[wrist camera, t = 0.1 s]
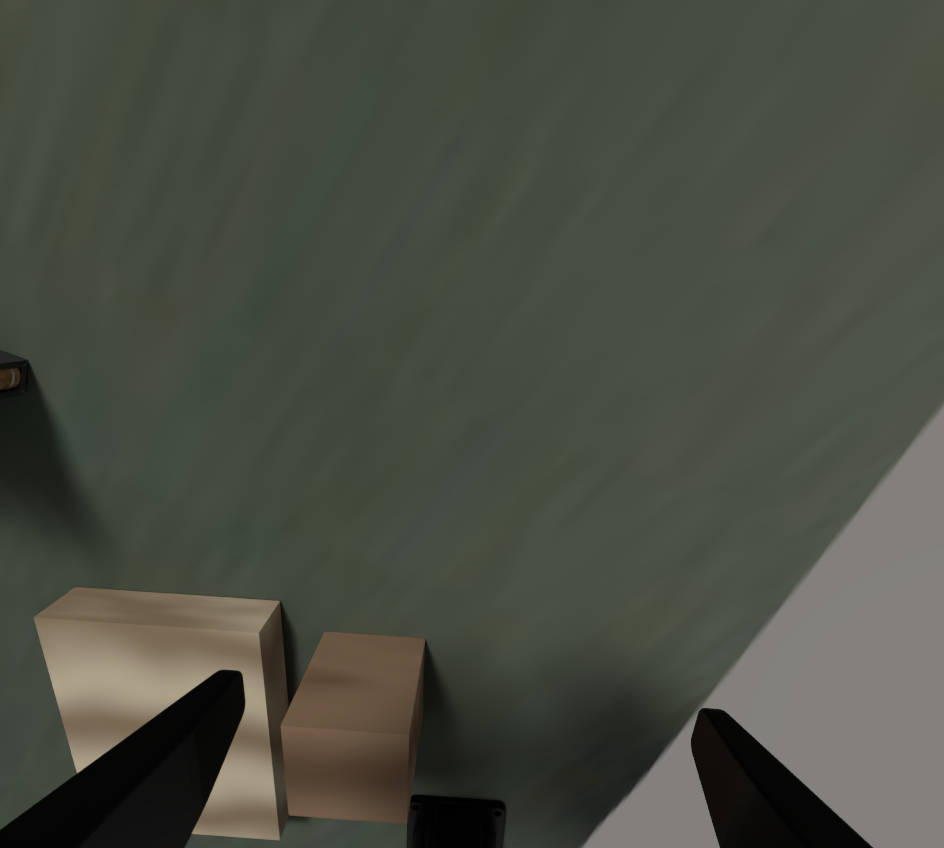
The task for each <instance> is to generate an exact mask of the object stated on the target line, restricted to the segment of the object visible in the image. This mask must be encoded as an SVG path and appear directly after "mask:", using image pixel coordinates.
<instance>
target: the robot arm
mask: <svg viewBox="0 0 944 848" xmlns="http://www.w3.org/2000/svg"><path fill="white" fill-rule="evenodd" d="M244 710H245V691H244V681H243V675H242V673H241V672H240V671H238V670H225V669H223V670H219V671H217V672H215V673H214V674H212V675H211V676H210V677H208V678H207V679H206V680H204V681H203V682H202V683H200V684H199V685H197V686H196V687H195V688H193V689H192V690H191V691H189V692H188V693H186V694H185V695H184V696H182V697H181V698H180V699H178V700H177V701H176V702H174V703H173V704H171V705H170V706H169V707H167V708H166V709H165V710H163V711H162V712H161V713H159V714H158V715H156V716H155V717H154V718H152V719H151V720H150V721H148V722H147V723H145V724H144V725H143V726H141V727H140V728H139V729H137V730H136V731H135V732H133V733H132V734H130V735H129V736H128V737H126V738H125V739H124V740H122V741H121V742H120V743H118V744H117V745H115V746H114V747H113V748H111V749H110V750H109V751H107V752H106V753H104V754H103V755H102V756H100V757H99V758H98V759H96V760H95V761H94V762H92V763H91V764H89V765H88V766H87V767H85V768H84V769H83V770H81V771H80V772H78V773H77V774H76V775H74V776H73V777H72V778H70V779H69V780H68V781H66V782H65V783H63V784H62V785H61V786H59V787H58V788H57V789H55V790H54V791H53V792H51V793H50V794H48V795H47V796H46V797H44V798H43V799H42V800H40V801H39V802H37V803H36V804H35V805H33V806H32V807H31V808H29V809H28V810H27V811H25V812H24V813H22V814H21V815H20V816H18V817H17V818H16V819H14V820H13V821H12V822H10V823H9V824H7V825H6V826H5V827H3V828H2V829H1V830H0V848H184V847H185V845H186V843H187V842H188V840H189V838H190V836H191V834H192V832H193V830H194V828H195V826H196V824H197V822H198V820H199V818H200V816H201V814H202V812H203V810H204V808H205V806H206V803H207V801H208V799H209V796H210V794H211V792H212V789H213V787H214V785H215V782H216V780H217V777H218V775H219V773H220V770H221V768H222V765H223V763H224V760H225V758H226V756H227V753H228V751H229V748H230V746H231V744H232V741H233V739H234V736H235V734H236V731H237V729H238V727H239V724H240V722H241V719H242V717H243V714H244ZM691 748H692V754H693V757H694V760H695V764H696V767H697V771H698V774H699V778H700V781H701V785H702V788H703V791H704V795H705V799H706V802H707V805H708V809H709V812H710V816H711V819H712V823H713V826H714V830H715V833H716V836H717V839H718V842H719V846H720V848H873V847H872V846H871V845H870V844H869V843H867V842H866V841H865V840H864V839H863V838H862V837H861V836H860V835H859V834H858V833H857V832H856V831H854V830H853V829H852V828H851V827H850V826H849V825H848V824H847V823H846V822H845V821H844V820H842V819H841V818H840V817H839V816H838V815H837V814H836V813H835V812H834V811H833V810H832V809H831V808H829V807H828V806H827V805H826V804H825V803H824V802H823V801H822V800H820V798H819V797H818V796H816V795H815V794H814V793H813V792H812V791H811V790H810V789H809V788H808V787H807V786H806V785H805V784H803V783H802V782H801V781H800V780H799V779H798V778H797V777H796V776H795V775H794V774H793V773H791V772H790V771H789V770H788V769H787V768H786V767H785V766H784V765H783V764H782V763H781V762H780V761H779V760H777V759H776V758H775V757H774V756H773V755H772V754H771V753H770V752H769V751H768V750H767V749H766V748H764V747H763V746H762V745H761V744H760V743H759V742H758V741H757V740H756V739H755V738H754V737H752V736H751V735H750V734H749V733H748V732H747V731H746V730H745V729H744V728H743V727H742V726H740V725H739V724H738V723H737V722H736V721H735V720H734V719H733V718H732V717H731V716H730V715H729V714H727V713H726V712H725V711H723V710H720V709H710V708H702V709H701V710H700V711H699V713H698V716H697V720H696V723H695V727H694V730H693V734H692V738H691ZM504 821H505V805H504V804H503V803H501V802H494V801H480V800H466V799H452V798H439V797H425V796H412V797H411V800H410V807H409V814H408V821H407V848H501V847H502V838H503V829H504Z"/></svg>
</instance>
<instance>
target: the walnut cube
mask: <svg viewBox="0 0 944 848" xmlns="http://www.w3.org/2000/svg"><path fill="white" fill-rule="evenodd" d="M424 664H425V638H411V637H396V636H382V635H367V634H353V633H338V632H324V634H323V636H322V638H321V640H320V642H319V644H318V647H317V649H316V651H315V653H314V655H313V657H312V659H311V662H310V664H309V666H308V668H307V670H306V672H305V674H304V677H303V679H302V681H301V683H300V685H299V687H298V689H297V691H296V694H295V696H294V698H293V700H292V702H291V704H290V706H289V709H288V711H287V713H286V715H285V717H284V719H283V721H282V724H281V737H282V748H283V759H284V770H285V780H286V791H287V802H288V813H289V815H290V816H304V817H318V818H332V819H346V820H359V821H373V822H387V823H401V824H407V821H408V814H409V807H410V800H411V793H412V787H413V780H414V773H415V766H416V759H417V752H418V745H419V739H420V732H421V725H422V718H423V694H424Z"/></svg>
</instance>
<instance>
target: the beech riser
mask: <svg viewBox="0 0 944 848" xmlns="http://www.w3.org/2000/svg"><path fill="white" fill-rule="evenodd" d="M34 621H35V624H36V628H37V631H38V635H39V638H40V642H41V646H42V649H43V653H44V656H45V660H46V663H47V667H48V671H49V674H50V678H51V681H52V685H53V689H54V692H55V696H56V699H57V703H58V706H59V710H60V714H61V717H62V721H63V724H64V728H65V731H66V735H67V739H68V742H69V746H70V749H71V753H72V756H73V760H74V764H75V767H76V771H77V773H78V772H80V771H81V770H83V769H84V768H85V767H87V766H88V765H89V764H91V763H92V762H94V761H95V760H96V759H98V758H99V757H100V756H102V755H103V754H104V753H106V752H107V751H109V750H110V749H111V748H113V747H114V746H115V745H117V744H118V743H120V742H121V741H122V740H124V739H125V738H126V737H128V736H129V735H130V734H132V733H133V732H135V731H136V730H137V729H139V728H140V727H141V726H143V725H144V724H145V723H147V722H148V721H150V720H151V719H152V718H154V717H155V716H156V715H158V714H159V713H161V712H162V711H163V710H165V709H166V708H167V707H169V706H170V705H171V704H173V703H174V702H176V701H177V700H178V699H180V698H181V697H182V696H184V695H185V694H186V693H188V692H189V691H191V690H192V689H193V688H195V687H196V686H197V685H199V684H200V683H202V682H203V681H204V680H206V679H207V678H208V677H210V676H211V675H212V674H214V673H215V672H217V671H219V670H223V669H225V670H238V671H240V672H241V673H242V675H243V681H244V691H245V710H244V714H243V717H242V719H241V722H240V724H239V727H238V729H237V731H236V734H235V736H234V739H233V741H232V744H231V746H230V748H229V751H228V753H227V756H226V758H225V760H224V763H223V765H222V768H221V770H220V773H219V775H218V777H217V780H216V782H215V785H214V787H213V789H212V792H211V794H210V796H209V799H208V801H207V803H206V806H205V808H204V810H203V812H202V814H201V816H200V818H199V820H198V822H197V824H196V826H195V828H194V830H193V832H192V834H203V835H216V836H230V837H243V838H257V839H270V840H280V839H281V836H282V833H283V831H284V828H285V825H286V823H287V820H288V817H289V813H288V802H287V791H286V780H285V770H284V759H283V748H282V737H281V724H282V721H283V719H284V717H285V715H286V713H287V711H288V709H289V705H288V693H287V681H286V669H285V657H284V644H283V632H282V620H281V608H280V601H272V600H257V599H243V598H228V597H213V596H199V595H184V594H169V593H154V592H140V591H125V590H110V589H96V588H81V587H75V588H73V589H72V590H71V591H69V592H68V593H67V594H65V595H64V596H62V597H61V598H60V599H58V600H57V601H56V602H54V603H53V604H51V605H50V606H49V607H47V608H46V609H45V610H43V611H42V612H40V613H39V614H38V615H36V616H35V617H34Z"/></svg>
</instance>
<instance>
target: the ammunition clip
mask: <svg viewBox="0 0 944 848" xmlns="http://www.w3.org/2000/svg"><path fill="white" fill-rule="evenodd" d="M27 365H28V362H27V360H26V359H24V358H21V357H18V356H15V355H12V354H10V353H7V352H4V351H1V350H0V399H2V398H7V397H12V396H16V395H21V394H25V390H26V378H27Z"/></svg>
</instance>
